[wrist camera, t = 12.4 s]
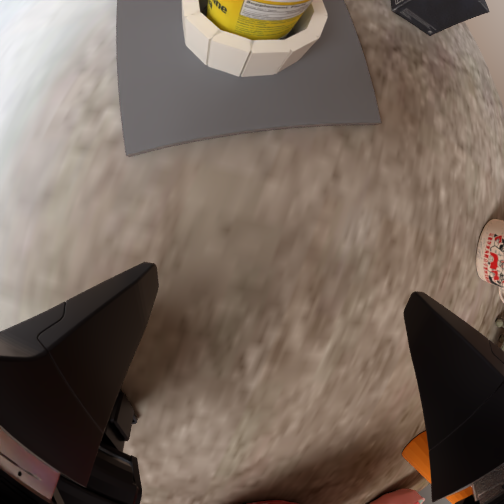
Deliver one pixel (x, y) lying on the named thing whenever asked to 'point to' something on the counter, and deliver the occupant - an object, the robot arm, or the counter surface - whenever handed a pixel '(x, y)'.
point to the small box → (438, 12)
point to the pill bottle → (256, 17)
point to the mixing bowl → (273, 502)
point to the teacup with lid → (492, 255)
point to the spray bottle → (428, 463)
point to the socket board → (234, 75)
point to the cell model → (400, 497)
